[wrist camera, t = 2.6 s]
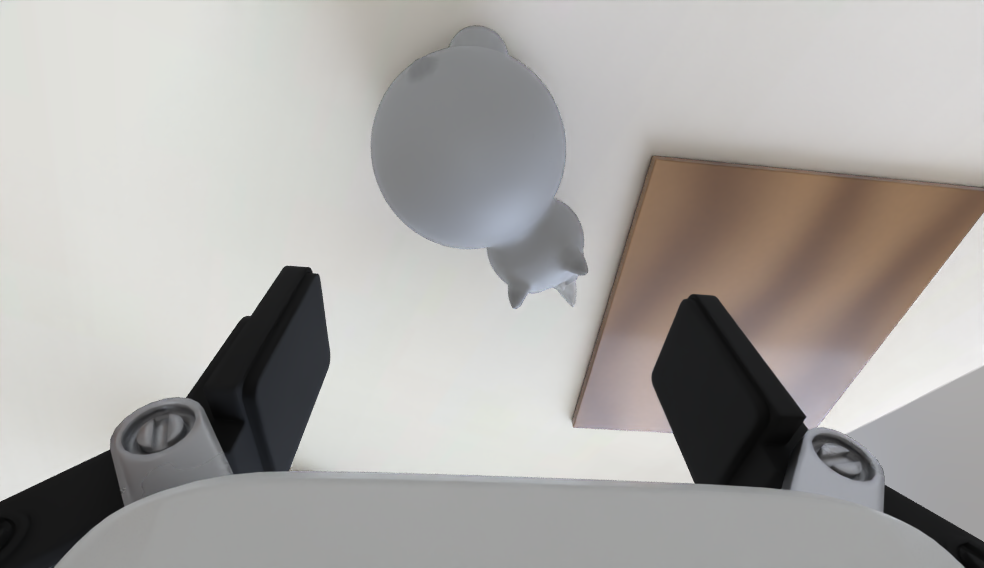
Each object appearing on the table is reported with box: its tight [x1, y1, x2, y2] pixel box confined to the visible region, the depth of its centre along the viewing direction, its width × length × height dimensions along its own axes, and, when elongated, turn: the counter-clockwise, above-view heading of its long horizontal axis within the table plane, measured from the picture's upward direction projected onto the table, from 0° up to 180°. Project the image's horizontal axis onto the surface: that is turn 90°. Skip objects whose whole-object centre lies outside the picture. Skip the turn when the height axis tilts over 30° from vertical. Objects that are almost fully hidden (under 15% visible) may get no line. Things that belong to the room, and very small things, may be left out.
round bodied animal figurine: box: [371, 26, 588, 309], centre depth 19 cm, size 7×12×8 cm, turn 32°
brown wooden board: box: [572, 156, 984, 433], centre depth 28 cm, size 18×20×1 cm
